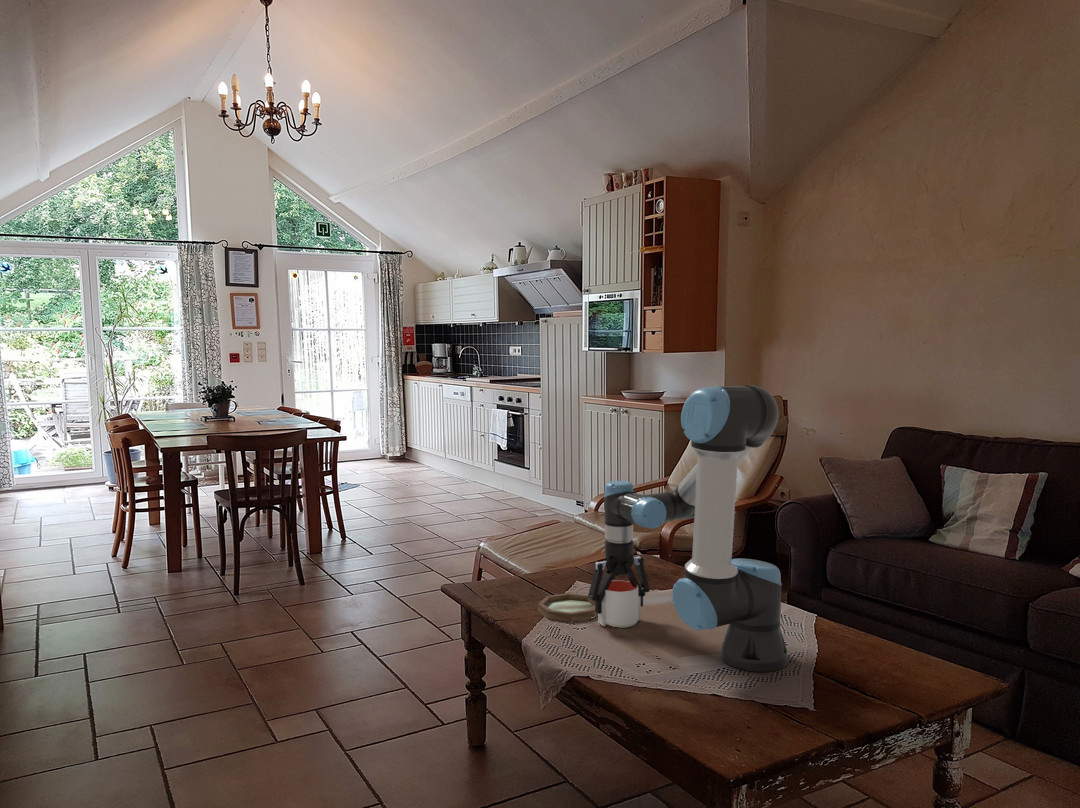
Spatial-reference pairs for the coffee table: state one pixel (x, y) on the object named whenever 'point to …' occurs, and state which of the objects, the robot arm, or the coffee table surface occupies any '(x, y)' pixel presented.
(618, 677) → the coffee table surface
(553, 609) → the tray
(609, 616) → the cup
